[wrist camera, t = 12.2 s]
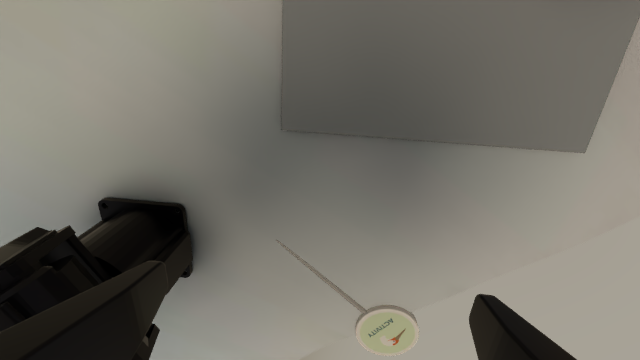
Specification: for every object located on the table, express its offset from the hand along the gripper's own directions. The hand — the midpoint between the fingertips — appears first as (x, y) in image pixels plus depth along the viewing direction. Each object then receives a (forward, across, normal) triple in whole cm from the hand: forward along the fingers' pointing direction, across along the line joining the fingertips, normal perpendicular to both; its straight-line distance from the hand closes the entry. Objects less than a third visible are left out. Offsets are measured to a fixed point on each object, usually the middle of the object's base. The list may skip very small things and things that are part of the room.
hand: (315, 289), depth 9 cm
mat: (+13, -6, -10) cm, 17 cm away
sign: (+14, -2, +12) cm, 18 cm away
